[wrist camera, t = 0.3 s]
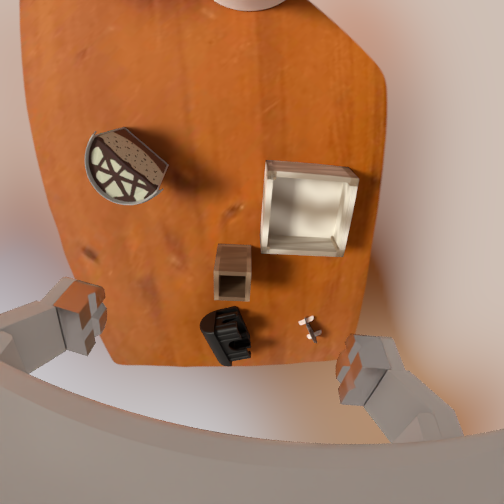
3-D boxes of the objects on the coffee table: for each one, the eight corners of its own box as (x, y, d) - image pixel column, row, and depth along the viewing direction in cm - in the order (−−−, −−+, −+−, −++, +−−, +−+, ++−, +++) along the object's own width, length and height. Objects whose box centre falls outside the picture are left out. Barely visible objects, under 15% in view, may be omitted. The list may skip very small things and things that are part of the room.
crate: (265, 160, 47) (267, 170, 42) (348, 167, 47) (359, 178, 43) (259, 235, 53) (261, 253, 49) (335, 239, 54) (343, 256, 49)
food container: (96, 150, 45) (66, 169, 37) (117, 120, 43) (88, 133, 34) (152, 198, 50) (133, 226, 41) (176, 171, 47) (160, 194, 39)
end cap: (201, 311, 62) (197, 335, 56) (236, 303, 61) (235, 328, 55) (219, 344, 67) (217, 369, 61) (251, 338, 66) (251, 363, 60)
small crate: (218, 243, 54) (213, 270, 47) (251, 245, 54) (251, 272, 48) (218, 270, 57) (214, 299, 50) (249, 272, 57) (249, 301, 50)
